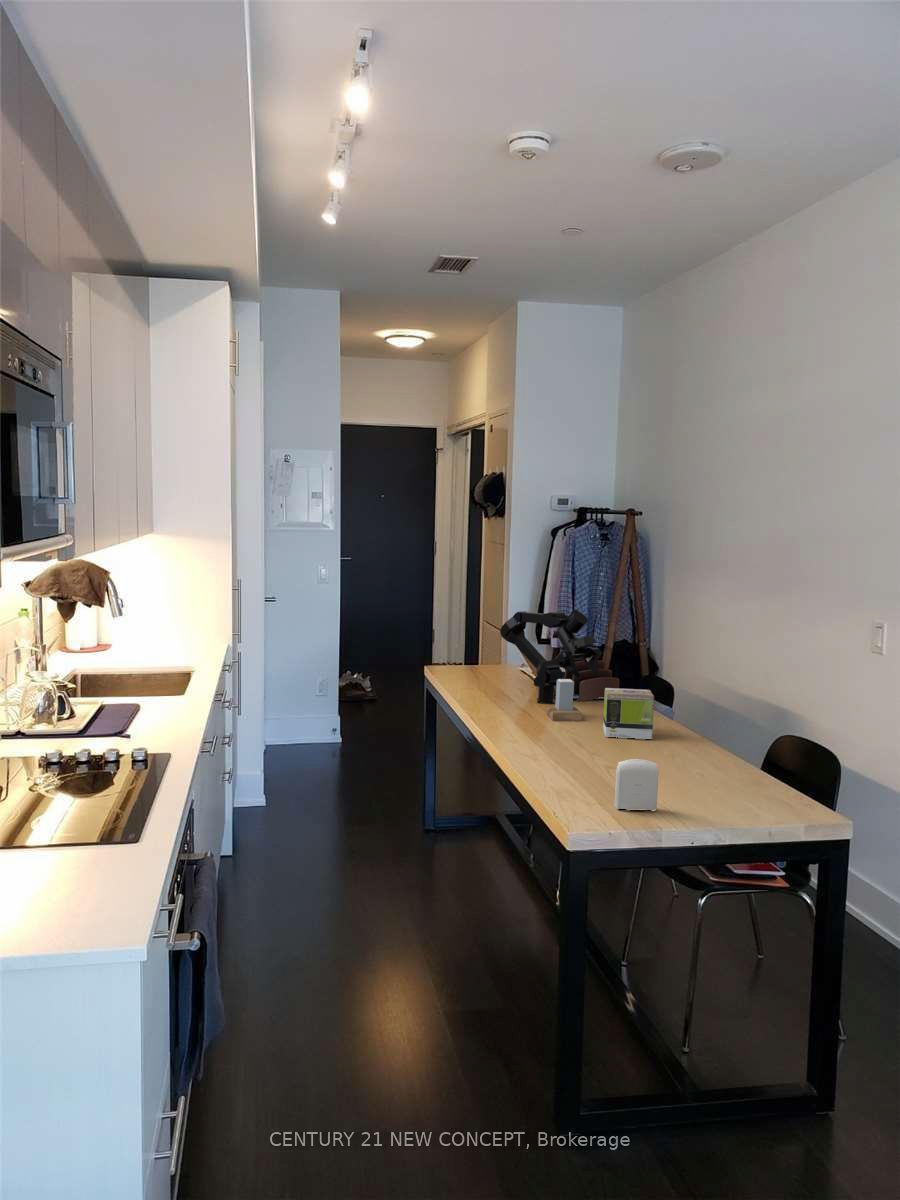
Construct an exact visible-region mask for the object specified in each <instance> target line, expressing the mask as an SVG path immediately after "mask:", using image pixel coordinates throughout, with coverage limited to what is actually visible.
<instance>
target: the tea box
mask: <svg viewBox="0 0 900 1200" xmlns="http://www.w3.org/2000/svg"><path fill="white" fill-rule="evenodd" d="M603 700H604V701H603V718H602V719H603V721H602V725H603V727H602V730H603V733H604V737H605V738H608V737H616V738H615V739H627V738H635V739H634V740H645V739H652V740H653V728H654V710H655V709H654V707H655V705H654V703H655V695H654V694H653V692H652V691H651V689H641V688H640V689H639V688H638V689H637V688H636V689H635V688H620V687H619V688H605V695H604V699H603ZM617 737H618V738H617Z"/></svg>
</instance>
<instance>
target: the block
mask: <svg viewBox="0 0 900 1200" xmlns="http://www.w3.org/2000/svg"><path fill="white" fill-rule="evenodd" d="M582 713H583V712H581V710H579V709H578V708H577V707H576V706H575V705H573V711H558V710H557V709H556V708H555V705H546V709H545V715H546V716H547V717H548V718H549V719H550V720H551V721H552V722H572V721H574V722H576V723H578V722H579V723H581V722H582Z"/></svg>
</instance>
